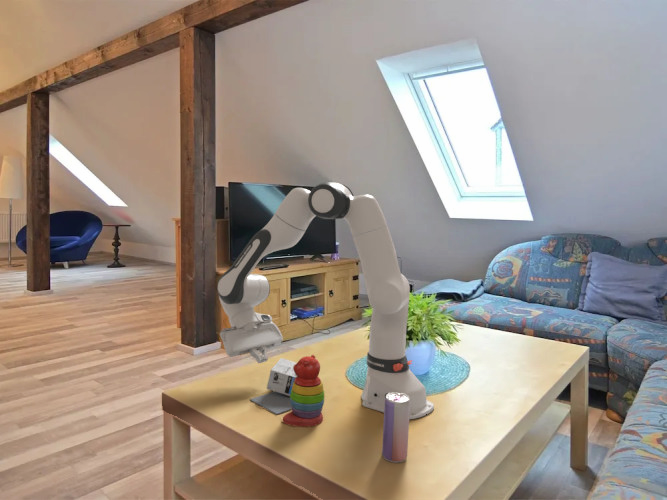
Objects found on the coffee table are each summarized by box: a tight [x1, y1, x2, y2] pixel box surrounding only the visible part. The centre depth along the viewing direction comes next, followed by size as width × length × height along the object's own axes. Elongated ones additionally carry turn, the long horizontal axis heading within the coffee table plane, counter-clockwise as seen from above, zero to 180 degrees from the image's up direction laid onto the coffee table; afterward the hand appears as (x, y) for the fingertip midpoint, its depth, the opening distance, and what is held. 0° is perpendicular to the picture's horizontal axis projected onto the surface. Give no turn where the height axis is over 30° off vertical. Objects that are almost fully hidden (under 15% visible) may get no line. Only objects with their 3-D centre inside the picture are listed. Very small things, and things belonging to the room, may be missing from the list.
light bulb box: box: [266, 357, 298, 396], centre depth 155 cm, size 11×7×11 cm
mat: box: [250, 391, 292, 416], centre depth 149 cm, size 13×15×1 cm
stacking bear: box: [282, 354, 325, 428], centre depth 137 cm, size 11×10×18 cm
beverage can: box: [381, 393, 410, 464], centre depth 119 cm, size 6×6×15 cm
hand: (263, 361), depth 156 cm, fingers closed
